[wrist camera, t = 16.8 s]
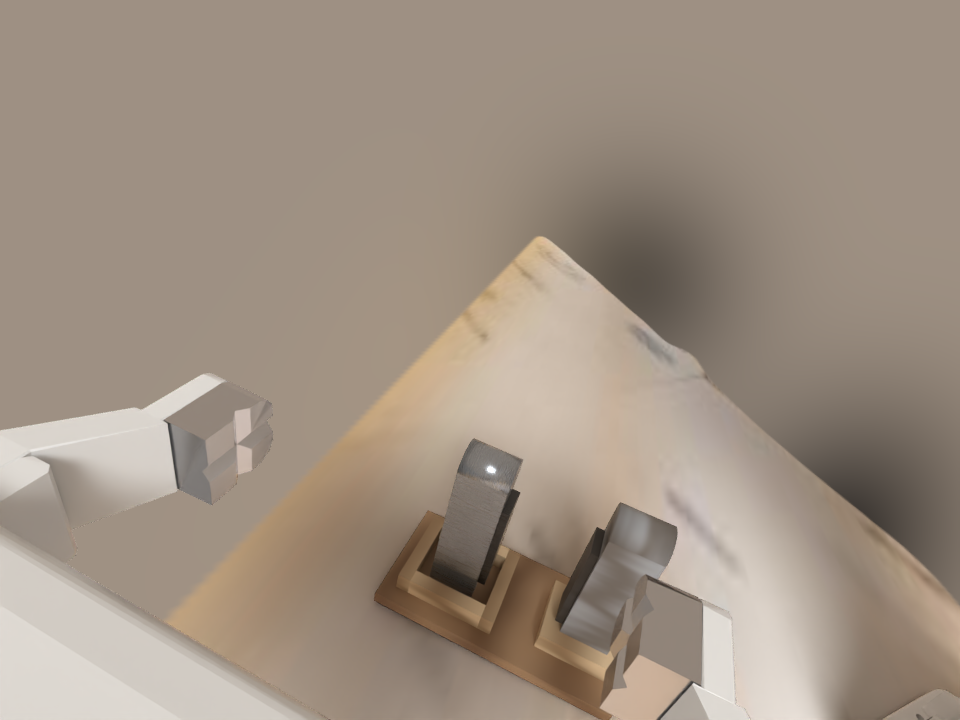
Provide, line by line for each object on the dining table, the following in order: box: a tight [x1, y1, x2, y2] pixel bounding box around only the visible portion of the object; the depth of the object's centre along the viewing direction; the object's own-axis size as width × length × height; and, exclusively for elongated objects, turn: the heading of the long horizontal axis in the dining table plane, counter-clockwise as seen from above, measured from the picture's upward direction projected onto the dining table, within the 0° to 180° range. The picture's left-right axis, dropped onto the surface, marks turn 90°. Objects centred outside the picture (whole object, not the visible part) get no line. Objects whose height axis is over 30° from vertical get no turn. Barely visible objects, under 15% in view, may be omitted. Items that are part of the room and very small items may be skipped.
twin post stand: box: [374, 503, 677, 720], centre depth 38 cm, size 18×9×14 cm, turn 68°
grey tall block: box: [429, 439, 523, 598], centre depth 38 cm, size 4×3×14 cm
